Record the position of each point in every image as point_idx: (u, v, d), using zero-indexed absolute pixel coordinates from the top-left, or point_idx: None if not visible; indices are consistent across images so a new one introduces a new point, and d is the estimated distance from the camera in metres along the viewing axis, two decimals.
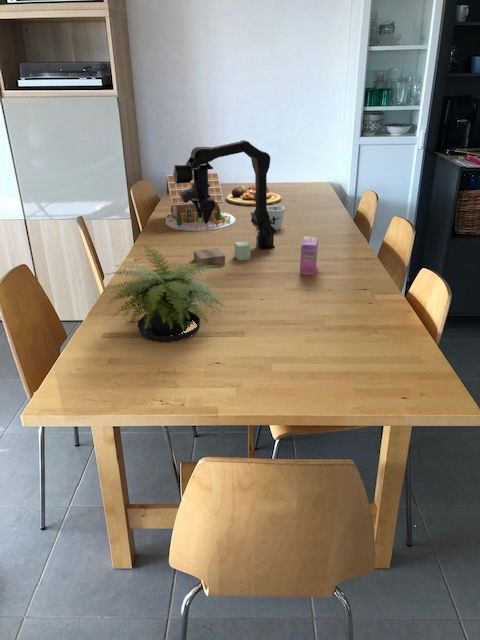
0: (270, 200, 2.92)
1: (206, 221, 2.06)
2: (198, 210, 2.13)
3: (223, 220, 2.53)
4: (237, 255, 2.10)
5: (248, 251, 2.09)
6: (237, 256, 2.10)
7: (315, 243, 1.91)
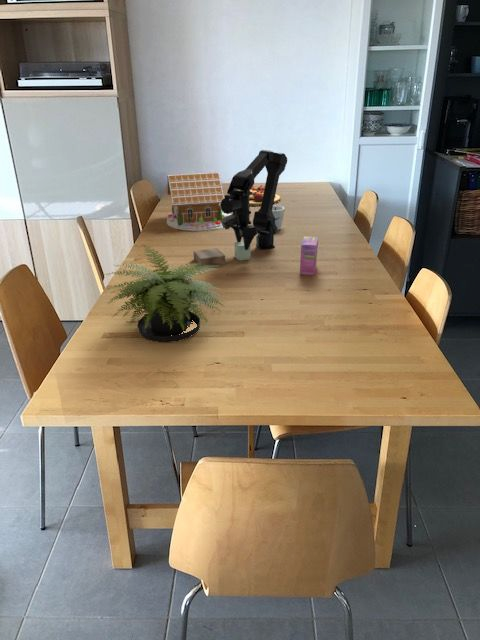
0: None
1: (247, 247, 2.06)
2: (237, 236, 2.13)
3: None
4: (237, 255, 2.10)
5: (248, 251, 2.09)
6: (237, 256, 2.10)
7: (315, 243, 1.91)
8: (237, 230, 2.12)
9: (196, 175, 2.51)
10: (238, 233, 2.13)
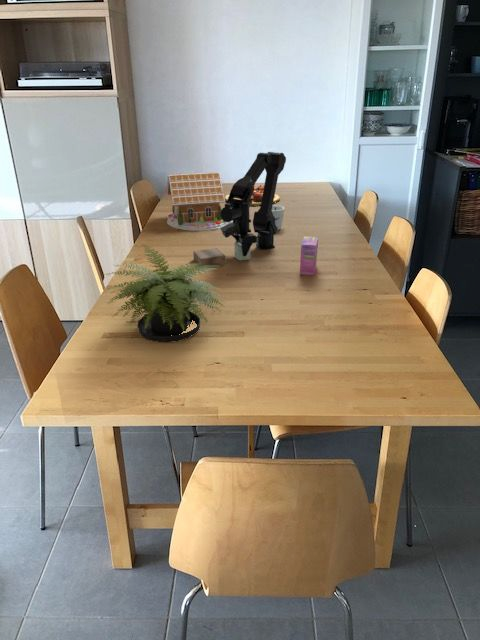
0: None
1: (245, 254, 2.09)
2: None
3: None
4: (237, 255, 2.09)
5: (248, 251, 2.09)
6: (237, 256, 2.10)
7: (315, 243, 1.91)
8: (238, 239, 2.12)
9: (196, 175, 2.51)
10: None
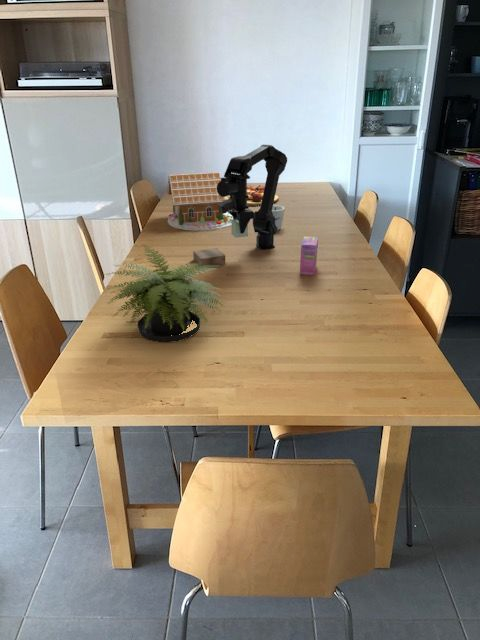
0: None
1: (242, 231, 2.04)
2: None
3: (225, 220, 2.53)
4: (235, 232, 2.05)
5: None
6: (234, 233, 2.06)
7: (315, 243, 1.91)
8: (236, 216, 2.07)
9: (197, 175, 2.51)
10: None
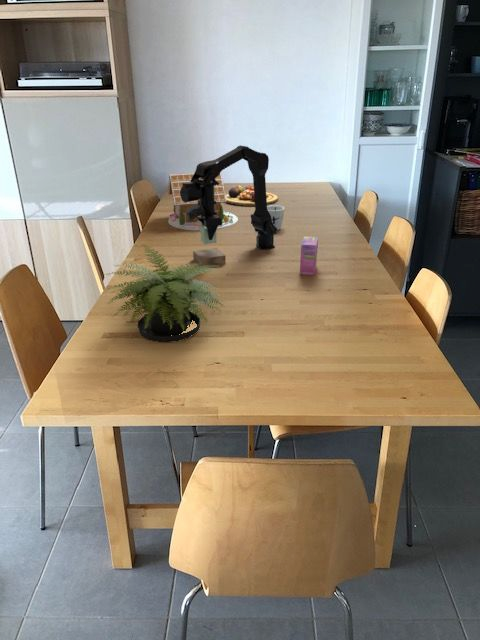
0: (267, 200, 2.92)
1: (211, 237, 2.01)
2: None
3: (226, 220, 2.54)
4: (203, 238, 2.02)
5: (214, 234, 2.02)
6: (203, 239, 2.03)
7: (315, 243, 1.91)
8: None
9: None
10: None
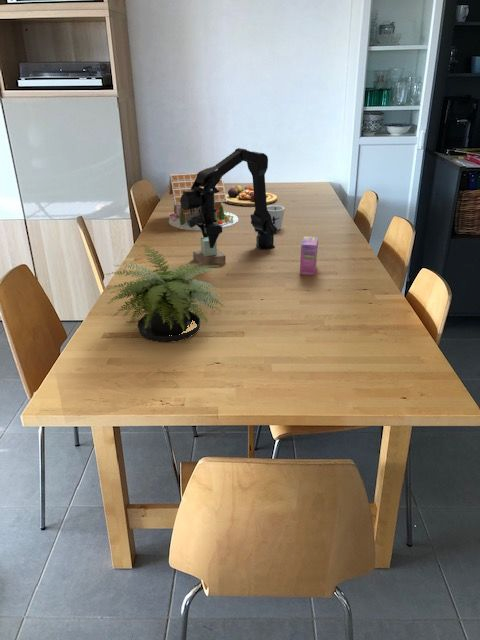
0: (266, 200, 2.92)
1: (212, 245, 2.01)
2: (204, 235, 2.08)
3: (226, 219, 2.54)
4: (203, 250, 2.04)
5: (214, 246, 2.04)
6: (203, 252, 2.05)
7: (315, 243, 1.91)
8: (204, 229, 2.07)
9: None
10: None
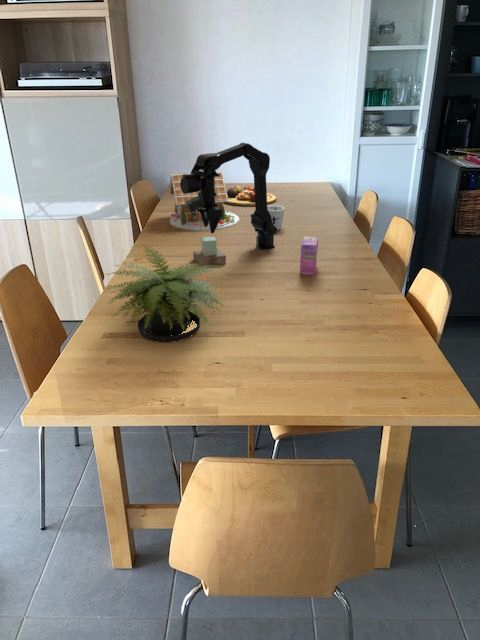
0: None
1: (213, 231, 1.99)
2: (204, 219, 2.06)
3: (227, 219, 2.54)
4: (203, 250, 2.04)
5: (214, 246, 2.04)
6: (203, 251, 2.05)
7: (315, 243, 1.91)
8: (204, 213, 2.05)
9: None
10: (205, 216, 2.06)
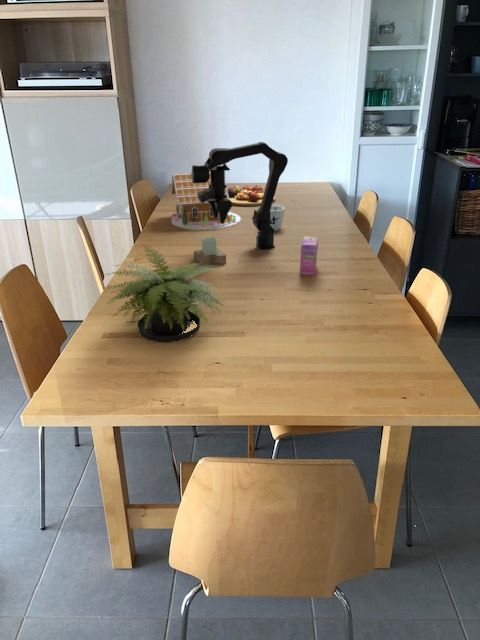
0: None
1: (222, 221, 2.11)
2: (214, 210, 2.18)
3: (229, 219, 2.54)
4: (203, 250, 2.04)
5: (214, 246, 2.04)
6: (203, 251, 2.05)
7: (315, 243, 1.91)
8: (214, 205, 2.17)
9: None
10: (215, 208, 2.17)
